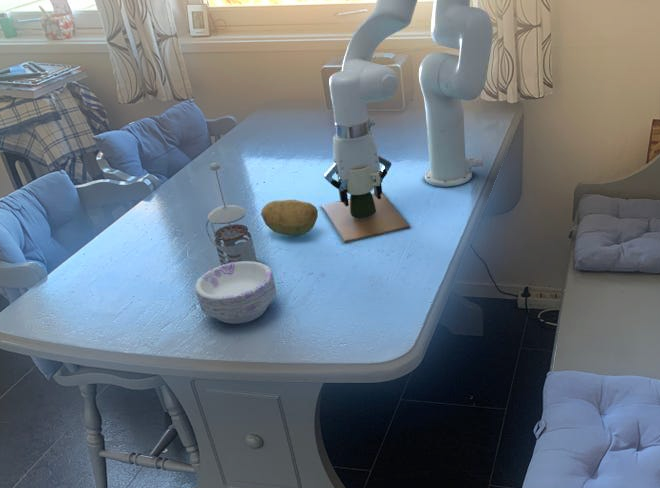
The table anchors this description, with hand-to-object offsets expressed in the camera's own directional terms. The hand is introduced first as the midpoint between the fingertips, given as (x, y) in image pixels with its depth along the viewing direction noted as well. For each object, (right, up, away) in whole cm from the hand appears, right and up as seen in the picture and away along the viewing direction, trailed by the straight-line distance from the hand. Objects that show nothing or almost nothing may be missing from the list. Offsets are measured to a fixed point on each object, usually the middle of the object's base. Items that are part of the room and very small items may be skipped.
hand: (361, 200), depth 183 cm
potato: (-16, -8, -2) cm, 19 cm away
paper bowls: (-22, -29, -29) cm, 46 cm away
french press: (-26, -19, -14) cm, 35 cm away
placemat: (0, -4, +3) cm, 4 cm away
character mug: (0, -3, +2) cm, 4 cm away
